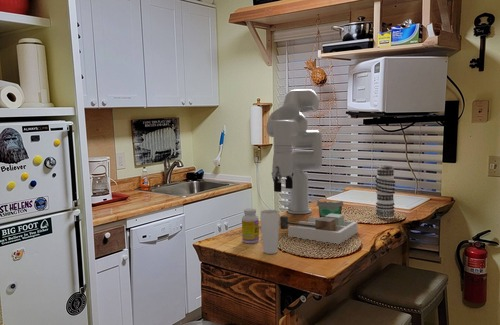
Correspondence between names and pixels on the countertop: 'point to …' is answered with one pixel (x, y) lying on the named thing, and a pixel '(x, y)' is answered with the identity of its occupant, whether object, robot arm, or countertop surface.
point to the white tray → (324, 231)
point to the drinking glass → (270, 230)
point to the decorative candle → (385, 191)
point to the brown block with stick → (320, 224)
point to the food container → (329, 208)
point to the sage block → (337, 218)
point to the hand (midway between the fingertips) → (283, 190)
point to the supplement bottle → (250, 226)
